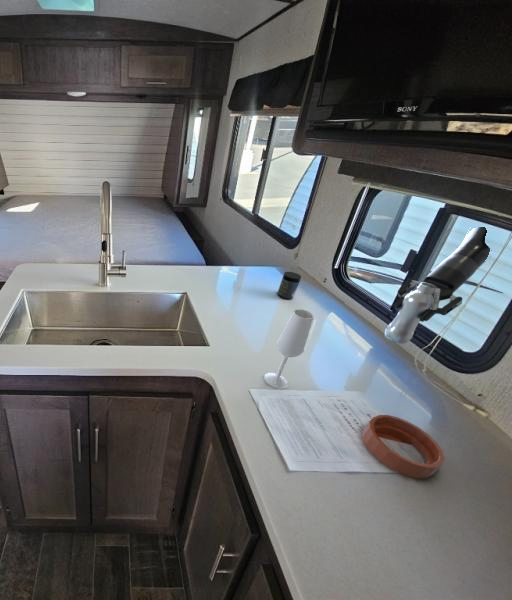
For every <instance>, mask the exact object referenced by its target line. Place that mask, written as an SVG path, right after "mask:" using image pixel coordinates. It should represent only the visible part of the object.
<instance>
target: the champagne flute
mask: <svg viewBox="0 0 512 600" xmlns="http://www.w3.org/2000/svg"><path fill="white" fill-rule="evenodd" d="M314 317H315V316H314V314H313V313H312V312H311V311H308V310H306V309H302V308H296V309H294V310H293V312H292V314H291V315H290V317H289V319H288V321H287V322H286V325H285V327H284V328H283V330H282V332H281V334H280V336H279V338H278V340H277V342H276V346H277V349H278V351H279V353H280V354H281V355H282V359H281V362H280V364H279V366H278V369H277V371H276V373H275V372H267V373H266V374H264V376H263V378H264V381H265V383H266V384H267V385H269V386H270V387H272V388H275V389H278V390H284V389H287V388H288V387H289V381H288V380H287V379H286V378H285V377H284V376H283V375H282V374H283V371H284V369H285V366H286V364H287V361H288V359H289V358H290V359H291V358H296V357H299V356H301V355H303V353H304V351H305V348H306V344H307V340H308V337H309V334H310V331H311V328H312V324H313V321H314Z"/></svg>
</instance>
